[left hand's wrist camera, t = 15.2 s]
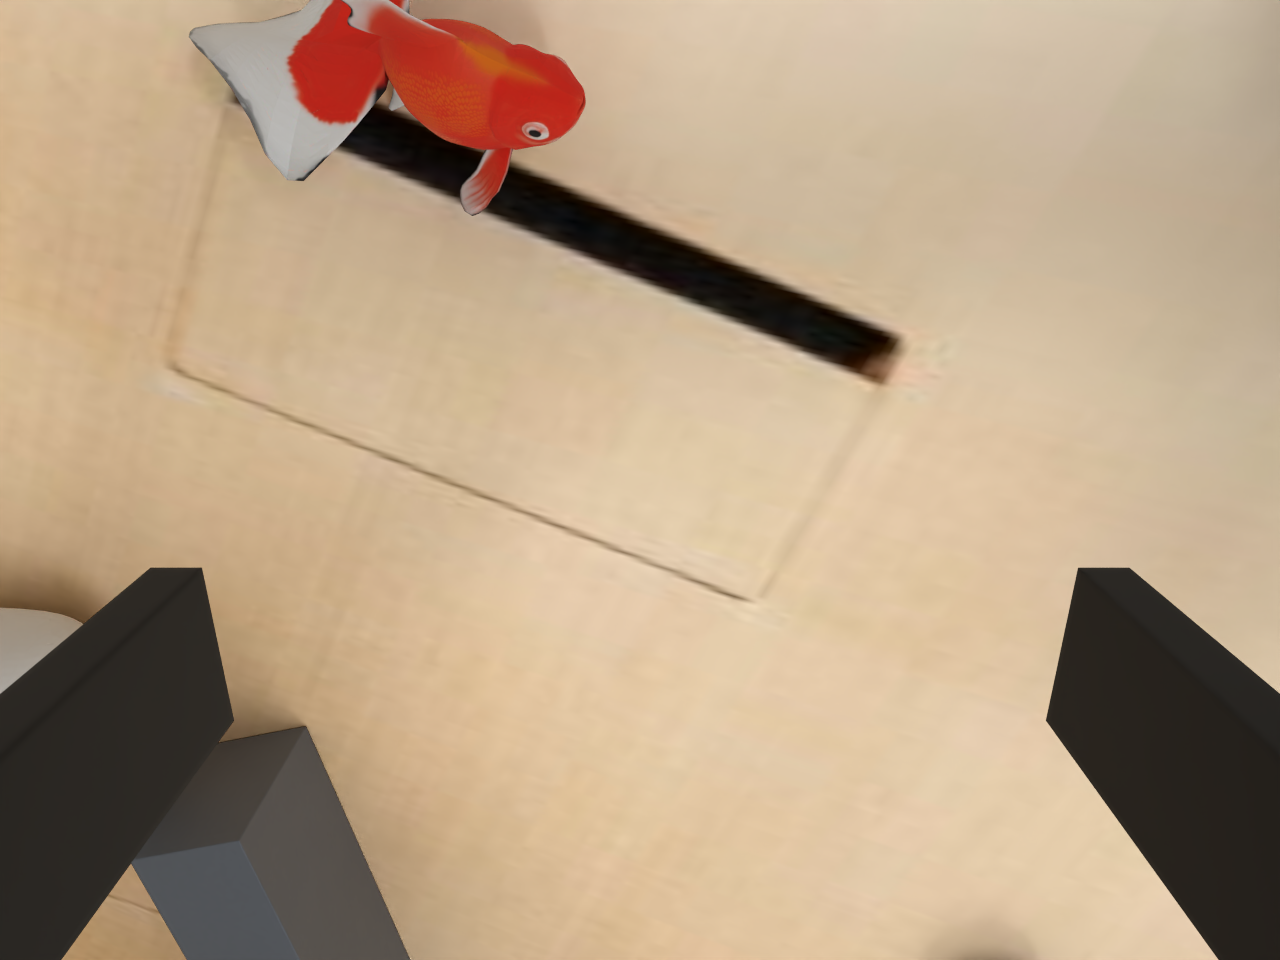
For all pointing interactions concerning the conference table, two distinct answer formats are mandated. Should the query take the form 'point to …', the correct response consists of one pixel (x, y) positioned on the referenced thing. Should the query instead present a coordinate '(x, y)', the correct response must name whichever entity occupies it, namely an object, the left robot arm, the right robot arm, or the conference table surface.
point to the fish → (419, 71)
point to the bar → (265, 861)
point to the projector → (29, 639)
